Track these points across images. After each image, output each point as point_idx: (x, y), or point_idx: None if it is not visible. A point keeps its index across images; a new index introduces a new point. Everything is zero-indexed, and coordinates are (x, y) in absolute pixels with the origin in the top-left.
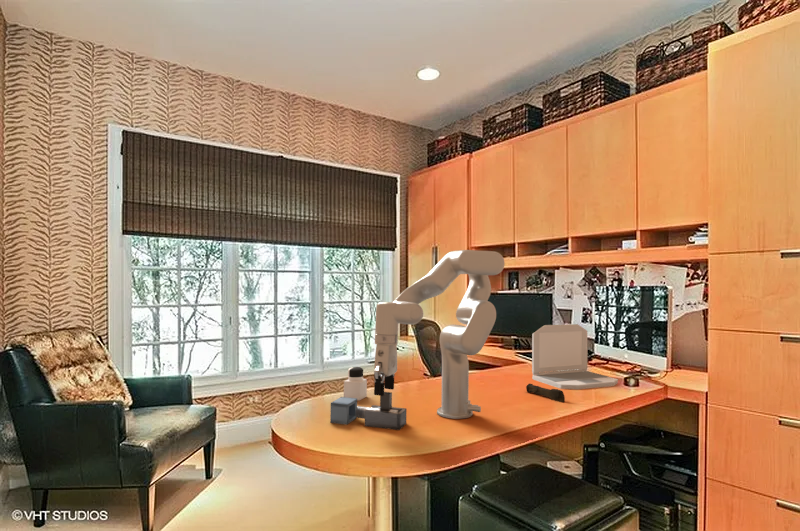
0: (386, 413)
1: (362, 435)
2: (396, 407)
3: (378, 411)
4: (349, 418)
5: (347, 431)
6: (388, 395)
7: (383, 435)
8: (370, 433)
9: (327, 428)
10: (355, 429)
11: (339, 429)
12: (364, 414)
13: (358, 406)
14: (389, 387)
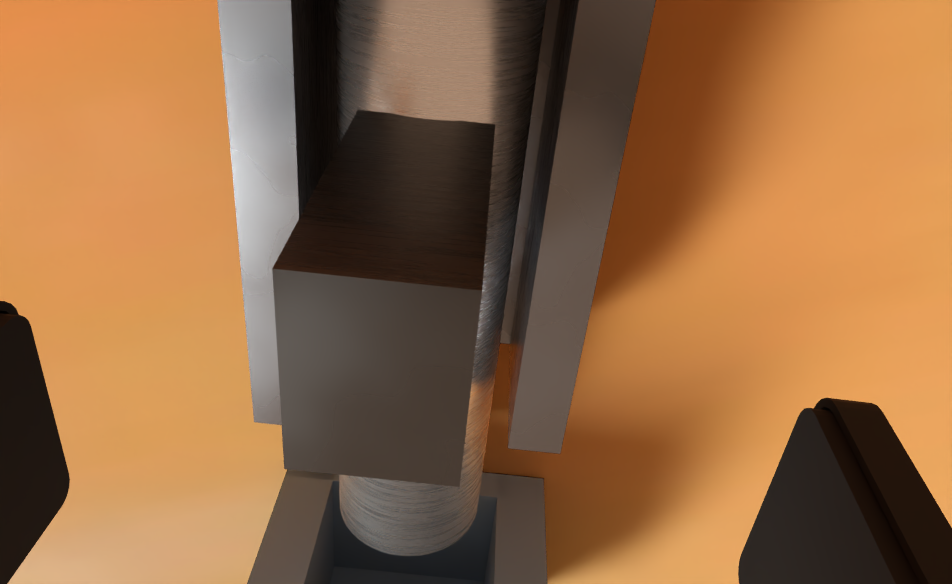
0: (622, 142)
1: (879, 275)
2: (222, 42)
3: (568, 284)
4: None
5: (750, 430)
6: (479, 295)
7: (884, 36)
8: (805, 211)
9: (681, 577)
10: (678, 381)
11: (696, 498)
12: (489, 418)
13: (406, 547)
14: (21, 416)
